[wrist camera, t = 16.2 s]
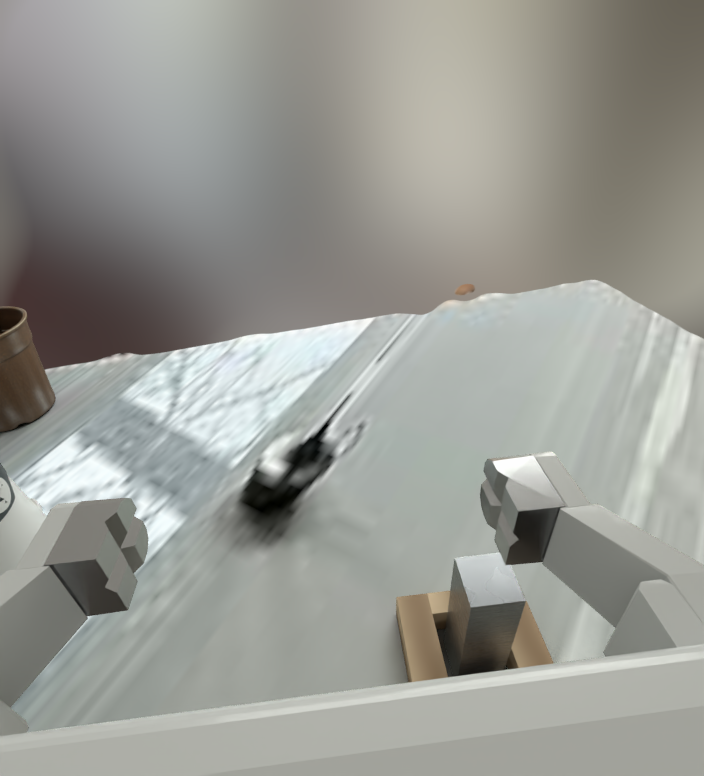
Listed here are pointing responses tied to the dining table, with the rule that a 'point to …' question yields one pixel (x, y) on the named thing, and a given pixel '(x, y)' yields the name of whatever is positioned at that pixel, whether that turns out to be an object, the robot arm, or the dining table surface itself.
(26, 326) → the plant pot
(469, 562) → the post
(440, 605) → the well block
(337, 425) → the dining table surface
